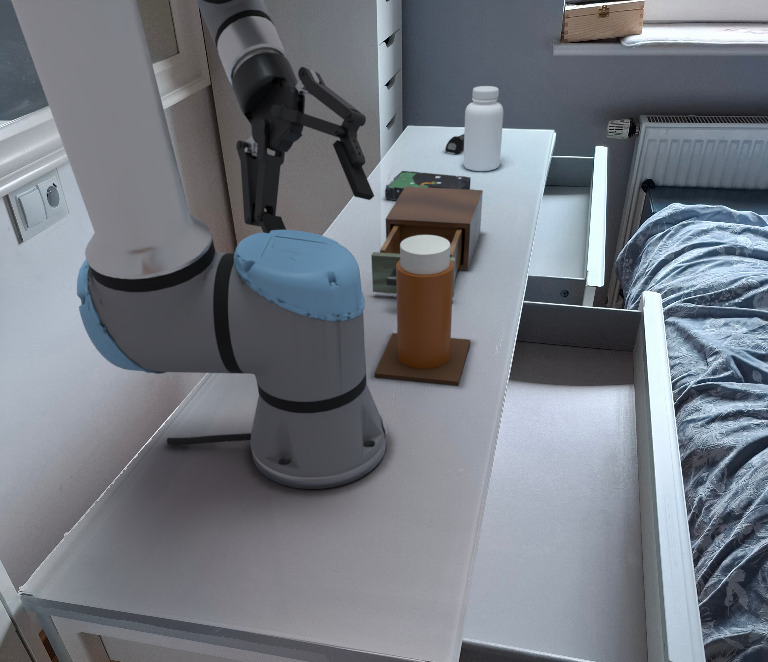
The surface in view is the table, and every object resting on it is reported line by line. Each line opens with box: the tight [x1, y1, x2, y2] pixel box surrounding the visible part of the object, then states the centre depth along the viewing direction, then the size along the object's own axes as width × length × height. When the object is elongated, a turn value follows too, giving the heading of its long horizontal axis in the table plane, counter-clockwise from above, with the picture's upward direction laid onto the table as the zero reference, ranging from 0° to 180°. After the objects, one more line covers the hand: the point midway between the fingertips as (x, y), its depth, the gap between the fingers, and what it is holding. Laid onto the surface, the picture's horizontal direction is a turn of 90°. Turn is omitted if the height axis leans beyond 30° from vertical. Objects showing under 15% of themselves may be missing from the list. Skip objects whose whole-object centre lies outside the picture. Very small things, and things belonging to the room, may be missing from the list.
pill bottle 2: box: [462, 85, 504, 172], centre depth 151 cm, size 8×8×15 cm
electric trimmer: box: [444, 133, 464, 155], centre depth 167 cm, size 4×16×3 cm, turn 143°
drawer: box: [370, 224, 464, 299], centre depth 110 cm, size 19×12×6 cm, turn 167°
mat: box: [374, 332, 471, 386], centre depth 96 cm, size 11×11×1 cm
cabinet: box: [385, 187, 484, 271], centre depth 121 cm, size 16×14×8 cm
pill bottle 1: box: [396, 235, 454, 369], centre depth 91 cm, size 7×7×15 cm
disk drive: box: [384, 170, 471, 201], centre depth 143 cm, size 10×3×15 cm
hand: (325, 232), depth 84 cm, fingers open, 13 cm apart
